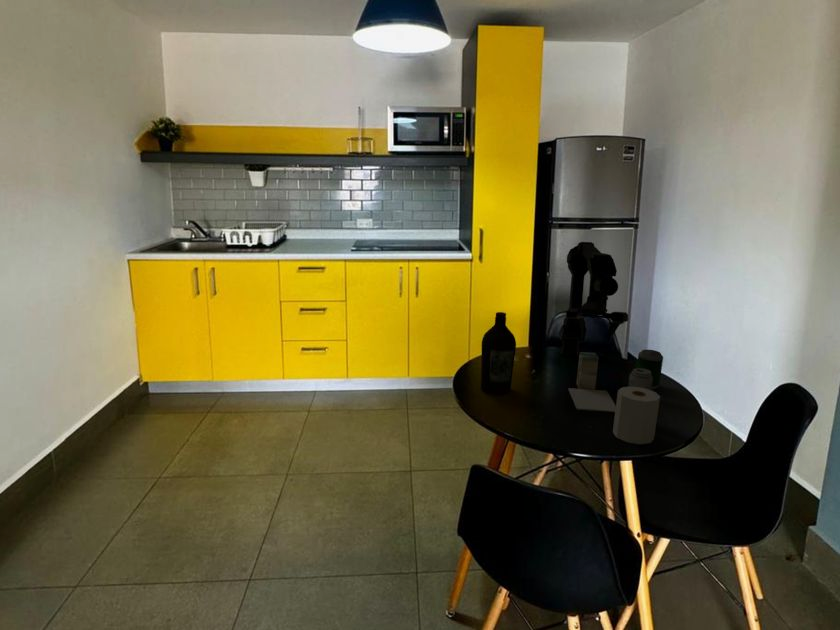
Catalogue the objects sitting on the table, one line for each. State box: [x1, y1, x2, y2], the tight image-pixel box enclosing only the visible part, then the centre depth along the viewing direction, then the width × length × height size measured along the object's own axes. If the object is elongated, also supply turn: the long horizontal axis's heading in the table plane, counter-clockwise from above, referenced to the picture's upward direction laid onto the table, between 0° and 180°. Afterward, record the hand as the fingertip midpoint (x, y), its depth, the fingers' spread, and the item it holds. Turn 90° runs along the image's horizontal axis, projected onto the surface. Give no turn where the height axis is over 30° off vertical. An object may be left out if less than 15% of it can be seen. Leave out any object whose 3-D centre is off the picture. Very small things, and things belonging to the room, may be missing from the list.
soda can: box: [636, 349, 664, 391], centre depth 187 cm, size 8×8×12 cm
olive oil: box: [480, 311, 517, 396], centre depth 178 cm, size 11×11×25 cm
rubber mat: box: [567, 387, 616, 413], centre depth 176 cm, size 16×12×1 cm
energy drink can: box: [627, 367, 653, 391], centre depth 160 cm, size 6×6×15 cm
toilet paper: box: [612, 386, 661, 445], centre depth 151 cm, size 10×10×12 cm
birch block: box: [575, 351, 599, 390], centre depth 185 cm, size 5×5×11 cm
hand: (594, 341), depth 187 cm, fingers open, 9 cm apart
